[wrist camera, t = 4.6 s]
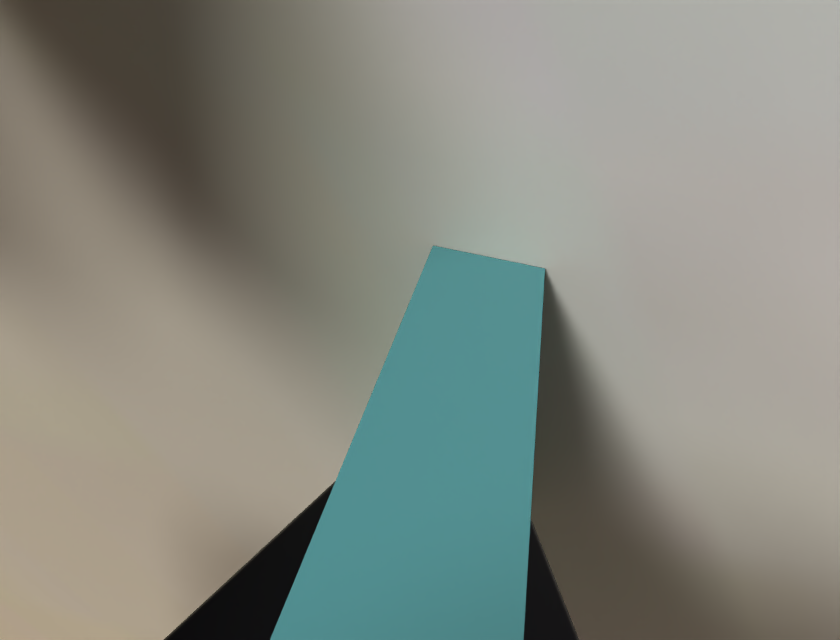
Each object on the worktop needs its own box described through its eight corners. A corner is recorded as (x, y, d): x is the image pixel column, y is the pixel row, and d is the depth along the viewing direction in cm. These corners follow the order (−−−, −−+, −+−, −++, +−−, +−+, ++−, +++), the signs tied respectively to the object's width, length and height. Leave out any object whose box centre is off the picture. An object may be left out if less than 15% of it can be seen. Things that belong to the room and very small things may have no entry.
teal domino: (480, 508, 12) (364, 1304, 5) (395, 487, 12) (168, 1232, 5) (545, 268, 9) (484, 1327, 2) (433, 245, 9) (50, 1168, 2)
